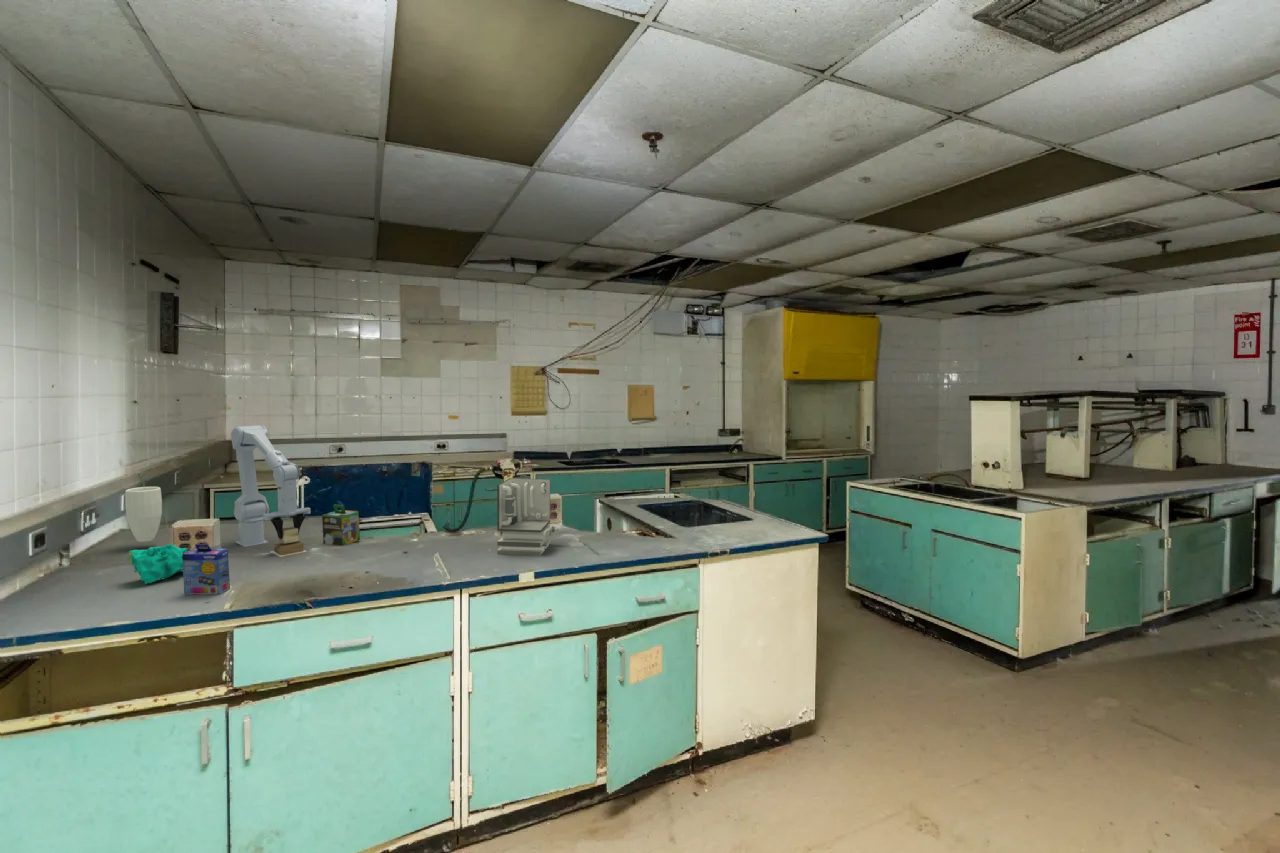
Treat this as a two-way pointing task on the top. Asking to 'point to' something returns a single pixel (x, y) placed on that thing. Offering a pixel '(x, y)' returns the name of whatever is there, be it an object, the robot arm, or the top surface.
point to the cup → (143, 511)
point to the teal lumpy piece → (157, 562)
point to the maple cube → (289, 535)
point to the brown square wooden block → (288, 547)
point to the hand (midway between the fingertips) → (288, 536)
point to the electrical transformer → (524, 516)
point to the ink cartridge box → (205, 570)
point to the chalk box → (340, 526)
